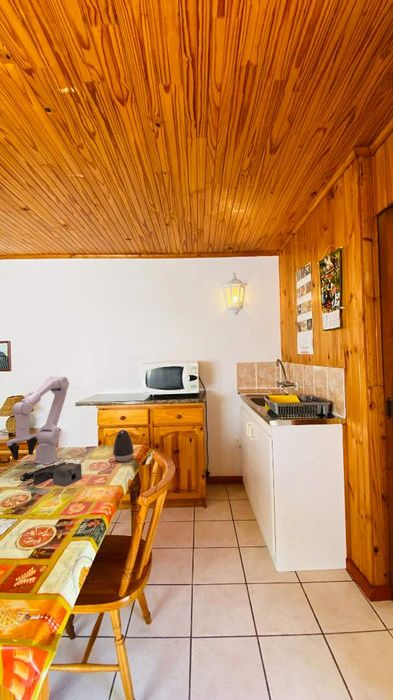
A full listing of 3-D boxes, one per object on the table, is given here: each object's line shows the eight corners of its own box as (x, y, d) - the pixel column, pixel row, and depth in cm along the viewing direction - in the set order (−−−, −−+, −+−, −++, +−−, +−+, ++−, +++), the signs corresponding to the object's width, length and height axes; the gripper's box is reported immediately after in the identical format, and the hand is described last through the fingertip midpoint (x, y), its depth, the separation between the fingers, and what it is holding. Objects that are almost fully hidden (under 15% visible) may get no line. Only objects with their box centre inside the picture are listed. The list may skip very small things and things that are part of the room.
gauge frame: (21, 489, 130) (20, 475, 130) (57, 473, 146) (56, 460, 146) (47, 495, 123) (46, 480, 123) (81, 478, 140) (81, 464, 140)
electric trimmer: (57, 471, 150) (57, 464, 150) (23, 482, 138) (23, 475, 138) (53, 469, 152) (53, 463, 152) (19, 480, 140) (19, 473, 140)
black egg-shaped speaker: (109, 462, 158) (108, 432, 158) (120, 456, 168) (119, 427, 168) (127, 464, 155) (126, 433, 155) (137, 457, 165) (136, 428, 165)
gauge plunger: (26, 487, 131) (25, 477, 131) (64, 470, 149) (64, 461, 149) (47, 491, 126) (47, 481, 126) (84, 473, 144) (84, 464, 144)
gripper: (13, 432, 140) (14, 463, 140) (41, 425, 154) (42, 453, 154) (3, 431, 143) (4, 461, 143) (31, 424, 157) (32, 451, 157)
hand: (23, 456), depth 149 cm, fingers open, 7 cm apart
